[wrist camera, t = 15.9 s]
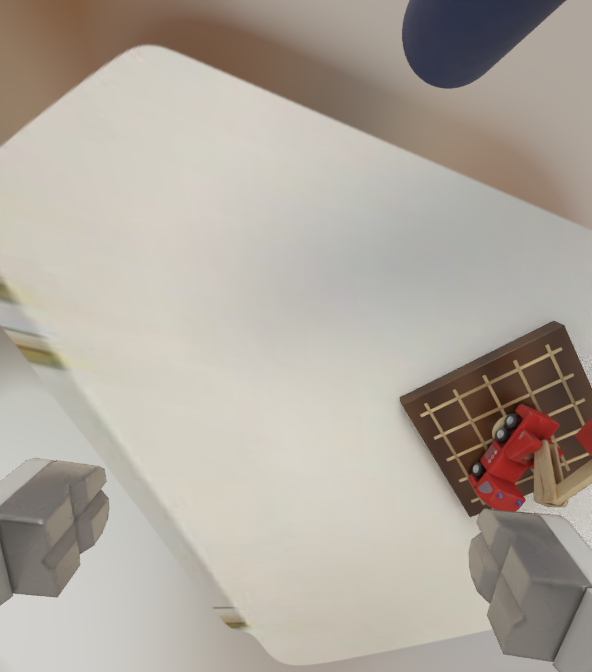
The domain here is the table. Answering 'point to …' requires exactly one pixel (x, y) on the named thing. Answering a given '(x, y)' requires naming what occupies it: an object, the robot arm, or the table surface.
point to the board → (503, 406)
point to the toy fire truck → (529, 463)
